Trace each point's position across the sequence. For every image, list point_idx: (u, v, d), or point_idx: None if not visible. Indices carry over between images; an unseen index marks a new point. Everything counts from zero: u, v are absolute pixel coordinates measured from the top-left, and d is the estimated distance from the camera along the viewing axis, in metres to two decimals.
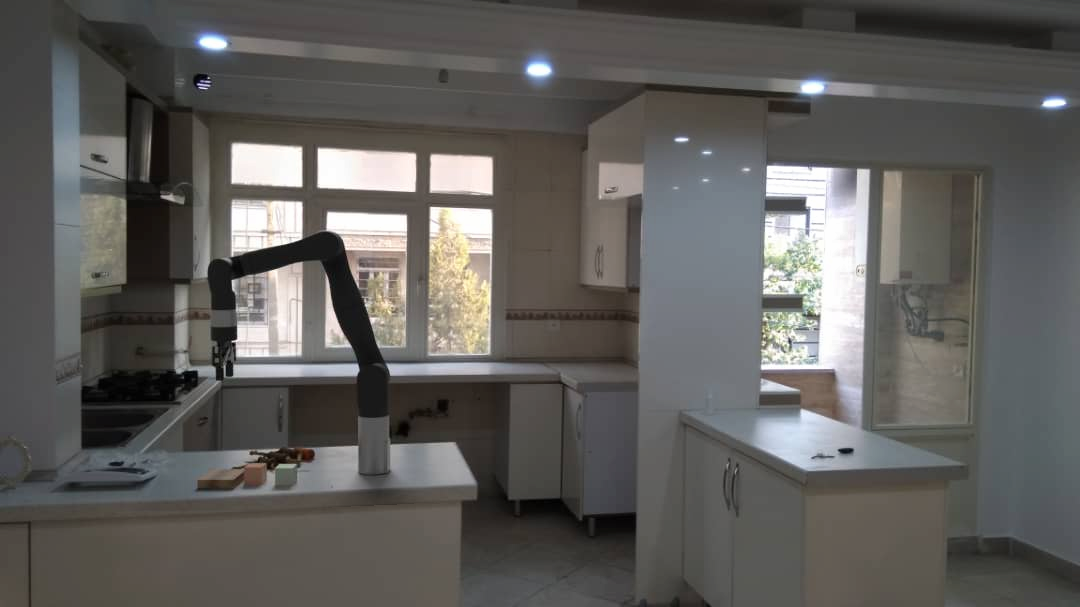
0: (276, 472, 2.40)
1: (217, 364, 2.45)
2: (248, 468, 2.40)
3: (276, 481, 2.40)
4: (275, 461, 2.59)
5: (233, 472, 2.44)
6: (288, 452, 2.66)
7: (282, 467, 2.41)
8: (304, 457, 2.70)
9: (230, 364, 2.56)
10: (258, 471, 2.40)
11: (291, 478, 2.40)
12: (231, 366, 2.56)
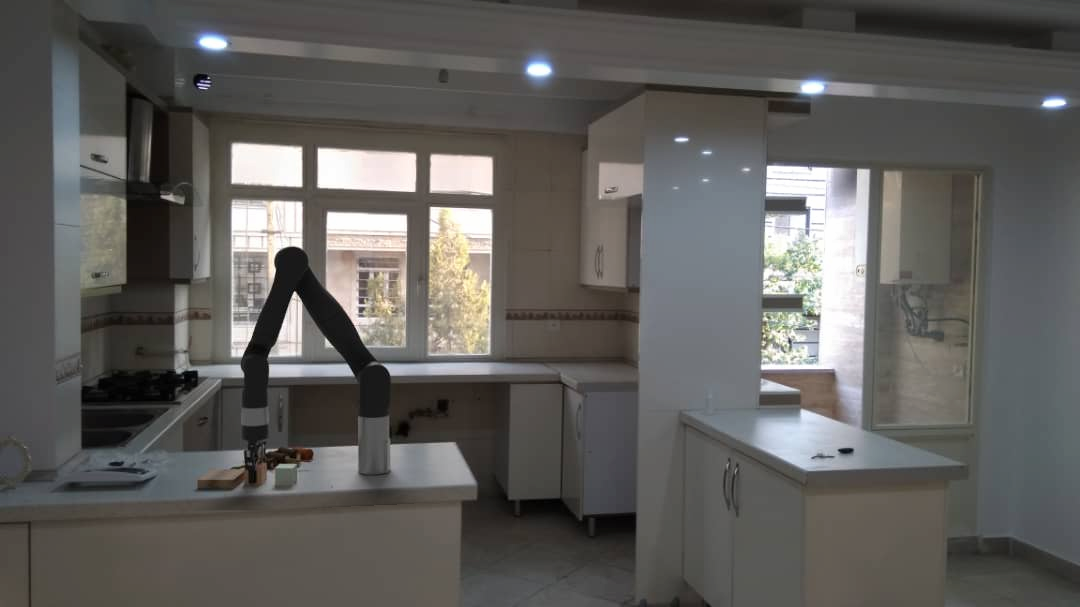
0: (276, 472, 2.40)
1: (250, 467, 2.37)
2: None
3: (276, 481, 2.40)
4: (274, 461, 2.59)
5: (233, 472, 2.44)
6: (287, 452, 2.67)
7: (282, 467, 2.41)
8: (303, 457, 2.71)
9: None
10: (258, 471, 2.40)
11: (291, 478, 2.40)
12: None
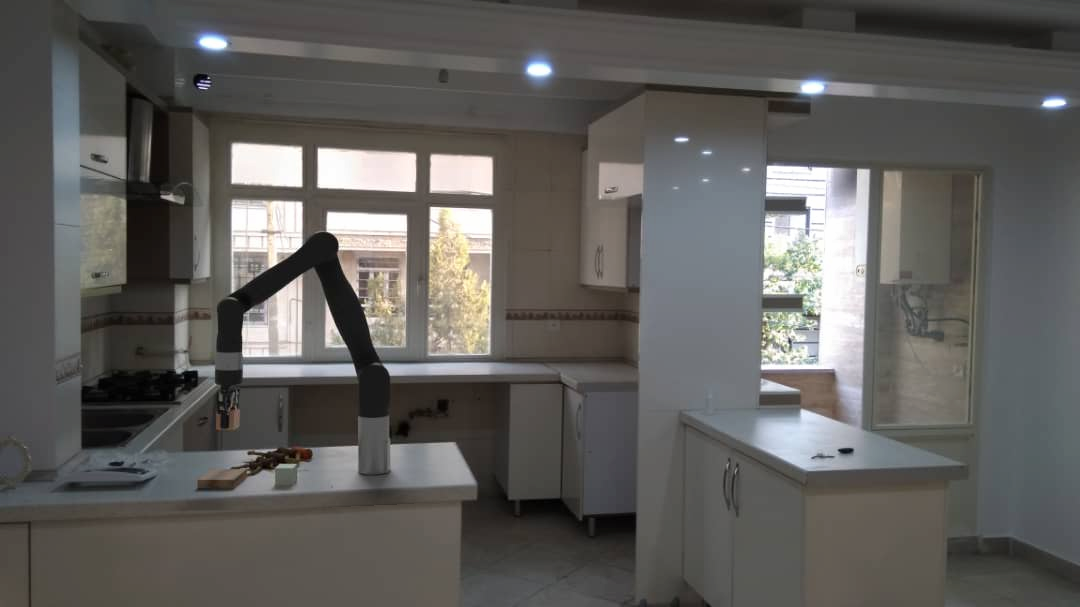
0: (276, 472, 2.40)
1: (222, 412, 2.35)
2: None
3: (276, 481, 2.40)
4: (274, 461, 2.60)
5: (233, 472, 2.44)
6: (286, 452, 2.67)
7: (282, 467, 2.41)
8: (302, 457, 2.71)
9: None
10: (230, 416, 2.38)
11: (291, 478, 2.40)
12: None
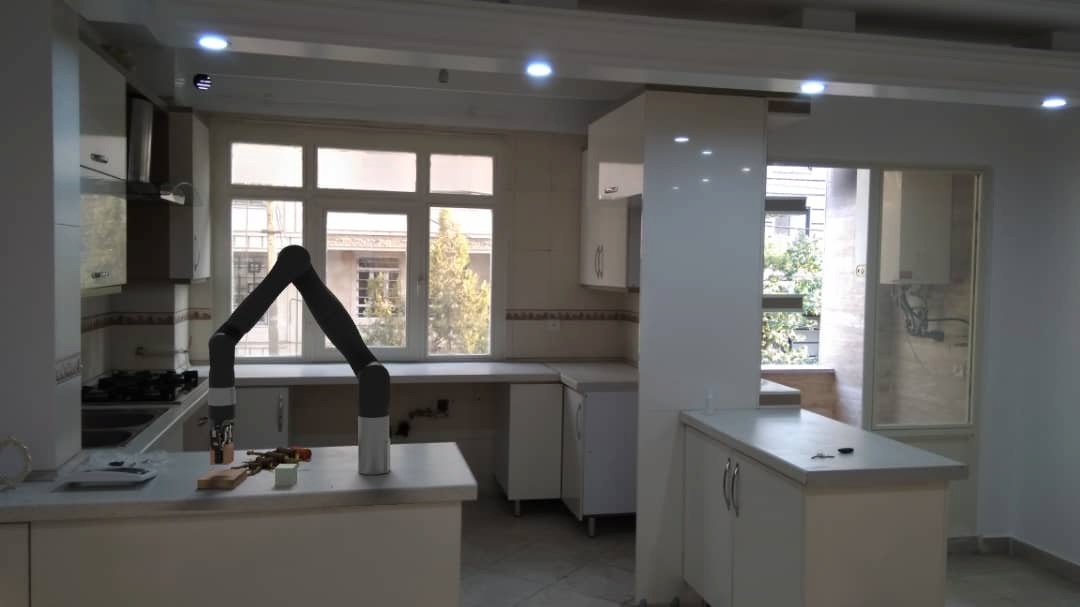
0: (276, 472, 2.40)
1: (216, 447, 2.36)
2: None
3: (276, 481, 2.40)
4: (274, 461, 2.60)
5: (233, 472, 2.44)
6: (286, 452, 2.67)
7: (282, 467, 2.41)
8: (301, 456, 2.71)
9: None
10: (224, 451, 2.39)
11: (291, 478, 2.40)
12: None
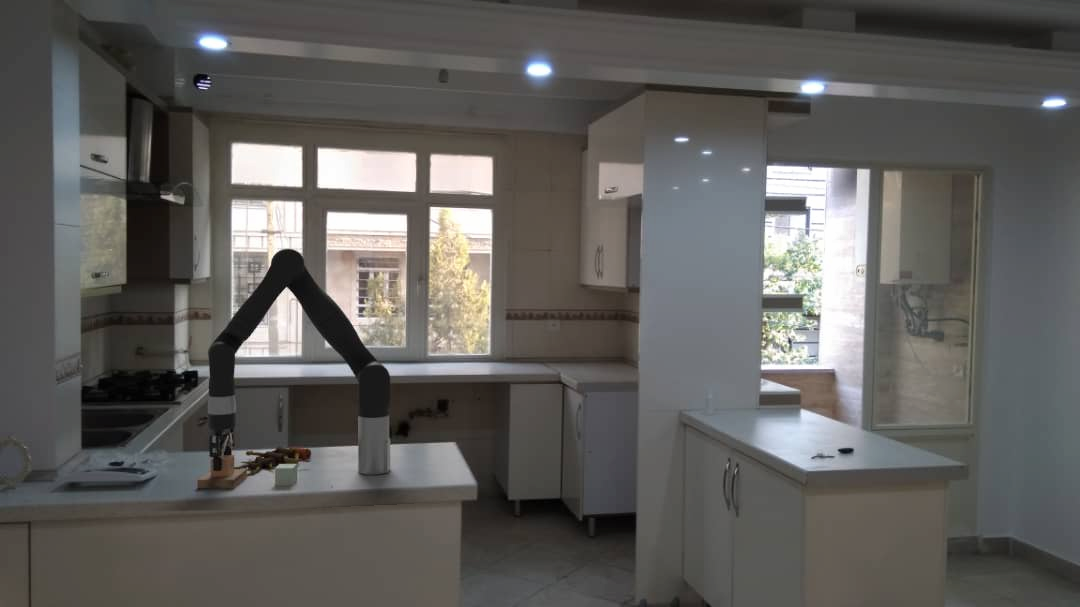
0: (276, 472, 2.40)
1: (215, 455, 2.34)
2: None
3: (276, 481, 2.40)
4: (273, 461, 2.60)
5: None
6: (285, 452, 2.67)
7: (282, 467, 2.41)
8: (301, 457, 2.71)
9: (228, 450, 2.45)
10: (225, 463, 2.39)
11: (291, 478, 2.40)
12: (229, 453, 2.45)
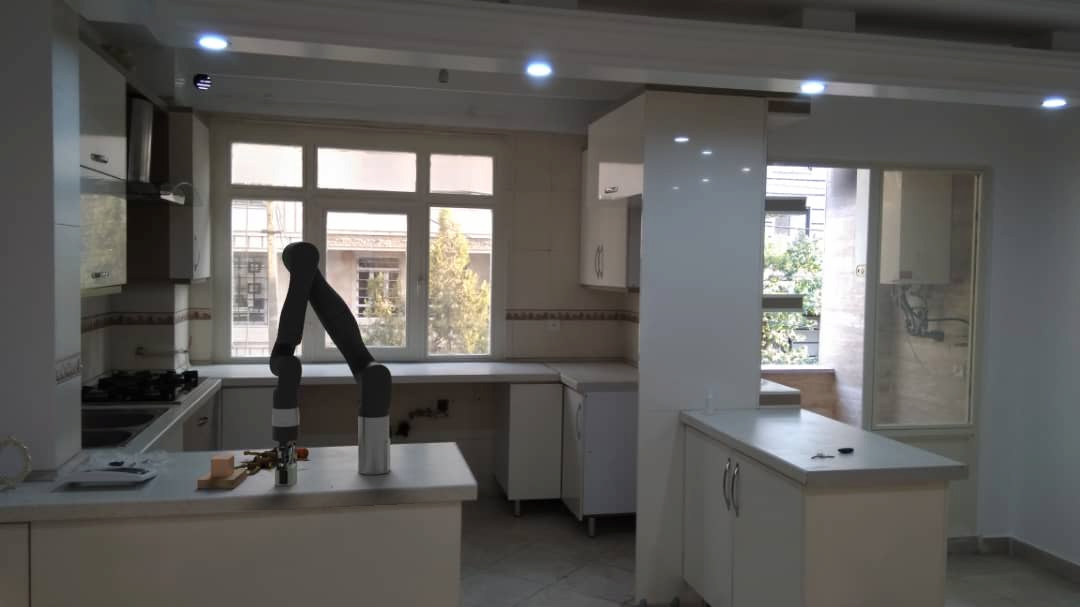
0: (276, 472, 2.40)
1: (282, 468, 2.37)
2: (215, 460, 2.39)
3: (276, 481, 2.40)
4: (272, 460, 2.60)
5: None
6: None
7: None
8: (298, 456, 2.72)
9: None
10: (225, 463, 2.39)
11: (291, 478, 2.40)
12: None
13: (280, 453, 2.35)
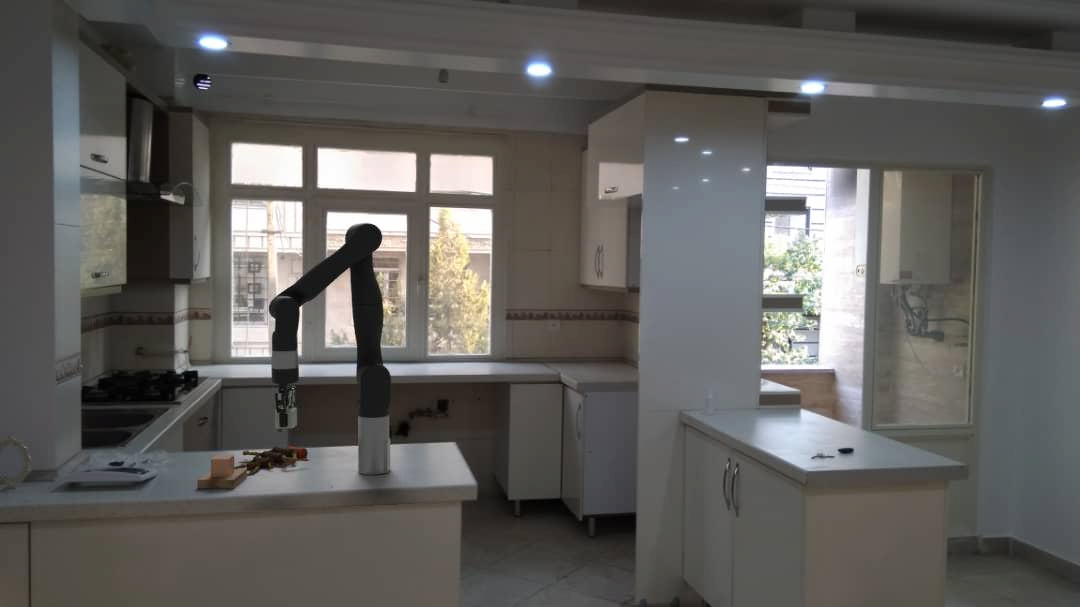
0: (276, 415, 2.39)
1: (282, 410, 2.36)
2: (215, 460, 2.39)
3: (276, 424, 2.39)
4: (272, 460, 2.60)
5: None
6: (282, 451, 2.68)
7: None
8: (297, 456, 2.72)
9: None
10: (225, 463, 2.39)
11: (291, 421, 2.39)
12: None
13: (280, 395, 2.34)
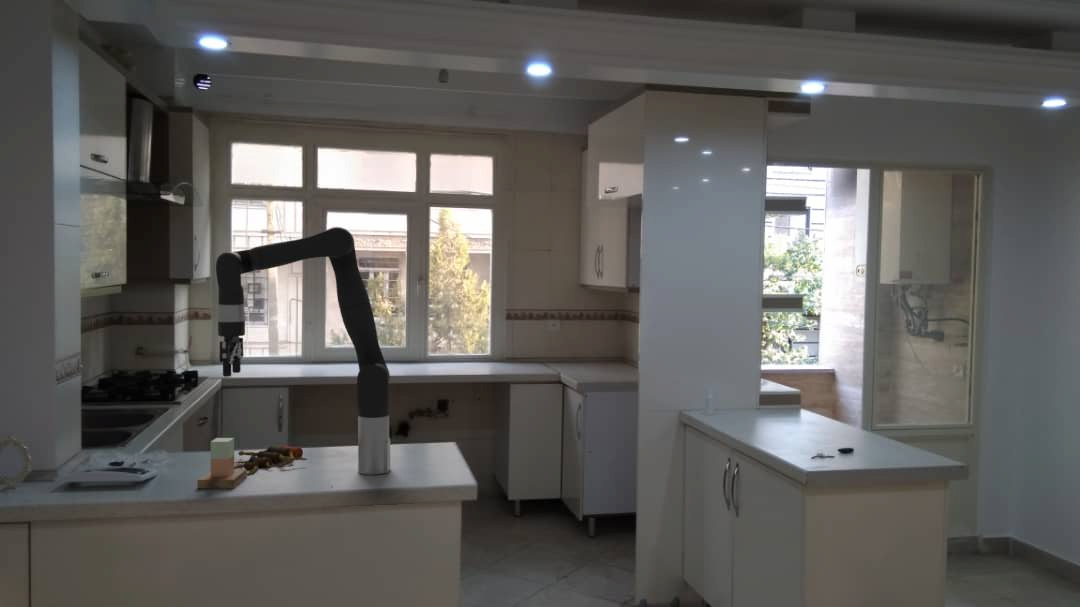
0: (212, 445, 2.39)
1: (224, 359, 2.42)
2: (215, 460, 2.39)
3: (212, 455, 2.39)
4: (269, 460, 2.61)
5: None
6: (278, 451, 2.68)
7: (218, 441, 2.40)
8: (293, 455, 2.73)
9: (237, 360, 2.53)
10: (225, 463, 2.39)
11: (227, 452, 2.39)
12: (238, 362, 2.53)
13: (224, 343, 2.42)
